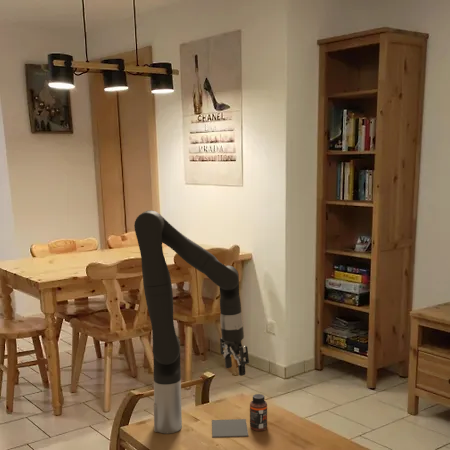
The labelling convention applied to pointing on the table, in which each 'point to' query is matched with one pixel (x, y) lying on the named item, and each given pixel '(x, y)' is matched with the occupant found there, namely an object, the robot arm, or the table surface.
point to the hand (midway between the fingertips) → (235, 371)
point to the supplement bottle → (258, 413)
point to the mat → (229, 428)
